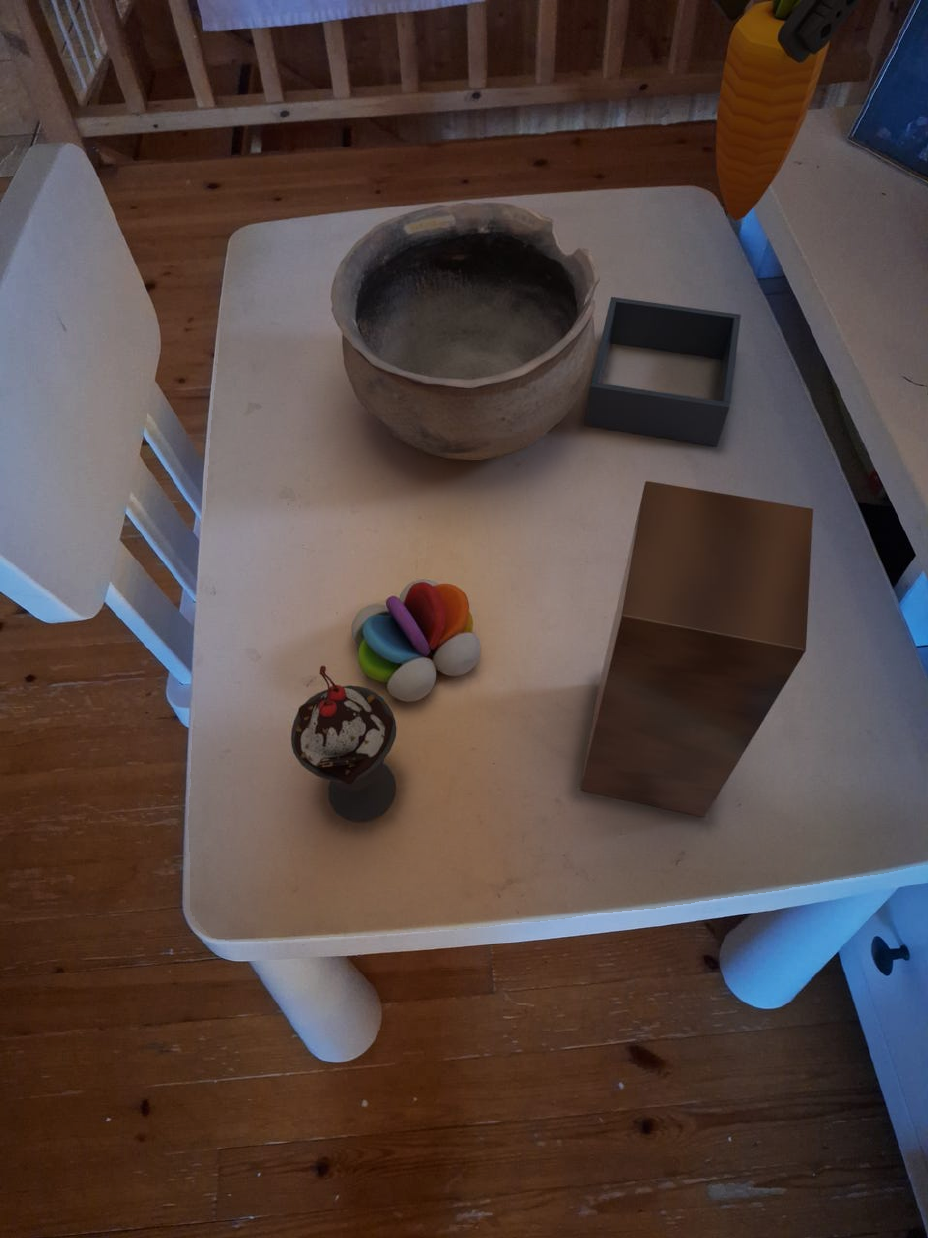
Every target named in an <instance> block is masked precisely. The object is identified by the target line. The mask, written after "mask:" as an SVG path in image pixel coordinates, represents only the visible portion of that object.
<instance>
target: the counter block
mask: <svg viewBox="0 0 928 1238" xmlns="http://www.w3.org/2000/svg"><path fill="white" fill-rule="evenodd" d="M643 485H644V486H643V488H642V489H643V490H642V493H641V498H640V503H639V506H638V511H637V516H636V519H635V520H636V521H635V525H634V528H633V533H632V538H631V543H630V547H629V551H628V556H627V560H626V565H625V569H624V573H623V578H622V582H621V586H620V591H619V594H618V600H617V604H616V608H615V613H614V618H613V622H612V626H611V631H610V635H609V639H608V643H607V649H606V653H605V656H604V661H603V667H602V670H601V675H600V680H599V684H598V689H597V695H596V700H595V706H594V710H593V717H592V723H591V728H590V733H589V738H588V742H587V749H586V754H585V759H584V765H583V771H582V777H581V782H580V787H579V790H580V791H583V792H588V793H592V794H596V795H601V796H606V797H609V798H616V799H619V800H624V801H629V802H633V803H636V804H637V803H639V804H642V805H648V806H652V807H656V808H661V809H666V810H671V811H674V812H678V813H679V812H680V813H684V814H688V815H692V816H698V817H702V818H705V817H706V816H707V814H708V813H709V811H710V810H711V808H712V806H713V805H714V803H715V802H716V799H717V798H718V796H719V794H720V793H721V791H722V789H723V788H724V787H725V785H726V783H727V782H728V780H729V779H730V777H731V775H732V773H733V772H734V770H735V768H736V767H737V765H738V764H739V761H741V759H742V757H743V755H744V754H745V752H746V750H747V748H748V747H749V746H750V743H751V742H752V741H753V739H754V737H755V735H756V733H757V732H758V731H759V729H760V727H761V726H762V724H763V722H764V721H765V719H766V717H767V715H768V714H769V712H770V710H771V709H772V707H773V706H774V704H775V702H776V701H777V699H778V697H779V696H780V694H781V692H782V691H783V690H784V687H785V686H786V684H787V683H788V681H789V679H790V678H791V676H792V674H793V673H794V671H795V669H796V668H797V666H798V664H799V663H800V661H801V660H802V657H803V656H804V654H805V653H806V651H807V641H808V640H807V639H808V620H809V619H808V618H809V601H810V600H809V599H810V583H811V582H810V581H811V579H810V578H811V561H812V560H811V559H812V539H813V521H814V509H813V508H812V507H805V506H799V505H793V504H787V503H782V502H775V501H770V500H764V499H757V498H752V497H745V496H739V495H733V494H727V493H721V492H714V491H710V490H703V489H699V488H698V489H697V488H691V487H687V486H686V487H685V486H680V485H674V484H667V483H662V482H656V481H649V480H645V481H644V484H643Z"/></svg>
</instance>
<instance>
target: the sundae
mask: <svg viewBox="0 0 928 1238" xmlns="http://www.w3.org/2000/svg"><path fill="white" fill-rule="evenodd" d="M326 671H327V667H326V666H325V665H321V666H320V667H319V675H320V676H321V677H322V679H324V681H325V683H326V686H327V689H325V690H322V691H320V692H318V693H316V694H314V695H312V696H311V697H309V698H308V699H307V700H306V701H305V702H304V703H303V704H301V705H299V707H298V710H297V713H296V714H295V715H296V716H295V718H294V720H293V723H292V727H291V733H290V741H291V748H292V753H293V755H294V756H295V758H296V759H297V761H298V763H299V764H300V765H301V766H302V767H303V768H305V769H306V770H307V771H308V772H310V773H311V774H313V775H315V776H317V777H318V778H321V779H324V780H325V781H328V782H329V783H328V788H327V794H328V801H329V803H330V806H331V807H332V808H333V810H334V812H336V814H338V815H339V816H340V817H342V818H343V819H345V820H348V821H350V822H351V821H352V822H357V823H361V822H368V821H372V820H374V819H376V818H379V817H381V815H383V814H384V813H386V811H387V810H388V809H389V808H390V806H391V805H392V803H393V802H394V800H395V796H396V791H397V785H396V779H395V776H394V774H393V772H392V771H391V769H390V768H389V766H387V764H385V763H384V761H385V758H386V757H387V755H388V754H389V753H390V752H391V750H392V748H393V745H394V743H395V740H396V738H397V723H396V721H397V720H396V718H395V715H394V713H393V711H392V709H391V707H390V705H389V704H388V703H387V702H386V700H385V699H384V698H383V697H382V696H381V695H379V694H378V693H377V692H375V691H373V690H371V689H369V688H367V687H362V686H358V685H344V686H341V685H339V684H335V682H334V681H333V680H332V678H331V677H330V676H328V674H326ZM329 682H330V683H329ZM330 684H331V685H330Z"/></svg>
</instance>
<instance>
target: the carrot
mask: <svg viewBox="0 0 928 1238" xmlns="http://www.w3.org/2000/svg"><path fill="white" fill-rule="evenodd" d="M800 2H801V0H768V1H763V2H758V3H754V5H753V6H751V7H750V8H748V9H747V10H746V12H745V13H743V15H742V16H741V18H739V20H738V21H737V23H735V25H734V26H733V29H732V31H731V33H730V36H729V40H728V44H727V50H726V51H727V52H726V54H725V55H726V56H725V62H724V66H723V71H722V73H723V74H722V79H721V84H720V85H721V86H720V92H719V99H718V107H717V113H716V134H715V155H716V156H715V162H716V164H715V166H716V174H717V180H718V184H719V190H720V193H721V196H722V199H723V203H724V206H725V210H726V212H727V213H728V215H729V217H731V219H732V220H733V221H736V222H737V221H739V220H741V219H743V218H745V217H746V216H747V215H748V214H749V213H750V212H751V211H752V210H753V208H754V207H756V205H757V204H758V203H759V202H760V200H761V199H762V198H763V196H764V195H765V193H766V192H767V190H768V189H769V188H770V186H771V184H772V183H773V181H774V180H775V178H776V177H777V175H778V174H779V173H780V171H781V170H782V167H783V165H784V164H785V161H786V160H787V157H788V155H789V154H790V152H791V149H792V147H793V146H794V143H795V142H796V139H797V137H798V134H799V133H800V130H801V128H802V126H803V123H804V121H805V119H806V116H807V114H808V111H809V108H810V104H811V102H812V100H813V97H814V93H815V91H816V88H817V84H818V82H819V78H820V75H821V73H822V69H823V66H824V63H825V59H826V56H827V53H828V49H829V47H830V42H831V40H830V41H829V42H828V43H827V45H826V46H825V47H824V48H822V49H821V50H820V51H819V52H817V53H816V54H815V55H813V54H812V53H811V54H810V55H809V57H808V58H807V59H806V60H805V61H803V62H801V63H798V62H797V61H795V60H793V59H792V58H790V57H788V56H787V54H786V53H785V51H784V50H783V48H782V46H781V45H780V43H779V42H778V33H779V31H780V29H781V27H782V26H783V24H784V23H785V22H786V20H787V19H788V18H789V16H790V15H791V14H792V12H793V11H794V10H795V8H796V7H797V6H798V4H799V3H800Z"/></svg>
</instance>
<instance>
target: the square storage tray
mask: <svg viewBox="0 0 928 1238" xmlns="http://www.w3.org/2000/svg"><path fill="white" fill-rule="evenodd" d="M609 300H610V301H609V305H608V309H607V313H606V318H605V322H604V325H603V329H602V334H601V338H600V343H599V347H598V350H597V351H598V352H597V355H596V360H595V364H594V368H593V372H592V377H591V382H590V385H589V390H588V391H589V393H588V400H587V408H586V416H585V422H584V423H585V424H584V425H585V426H586V427H591V428H598V429H604V430H609V431H610V430H611V431H615V432H616V431H617V432H622V433H628V434H637V435H641V436H649V437H654V438H660V439H665V440H666V439H668V440H674V441H678V442H679V441H680V442H685V443H686V442H687V443H693V444H699V445H705V446H710V447H719V446H718V445H719V442H720V439H721V437H722V433H723V430H724V427H725V423H726V420H727V417H728V414H729V411H730V407H731V399H732V392H733V383H734V376H735V366H736V359H737V349H738V343H739V342H738V341H739V335H740V334H739V333H740V327H741V326H740V325H741V317H742V315H741V314H739V313H732V312H725V311H717V310H709V309H703V308H702V309H701V308H695V307H688V306H681V305H673V304H667V303H659V302H652V301H645V300H638V299H631V298H623V297H615V296H611V297H610V299H609ZM611 344H617V345H624V346H632V347H639V348H643V349H644V348H645V349H650V350H651V349H652V350H658V351H659V350H660V351H665V352H666V351H667V352H671V353H672V352H673V353H680V354H685V355H686V354H687V355H692V356H693V355H694V356H700V357H705V358H706V357H707V358H714V359H720V360H721V366H720V374H719V380H718V387H717V395H716V400H715V399H709V398H703V397H696V396H695V397H694V396H689V395H681V394H676V393H675V394H674V393H669V392H663V391H657V390H656V391H655V390H649V389H642V388H636V387H630V386H629V387H628V386H623V385H616V384H610V383H603V377H604V373H605V368H606V364H607V363H606V362H607V361H608V356H609V351H610V346H611Z"/></svg>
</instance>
